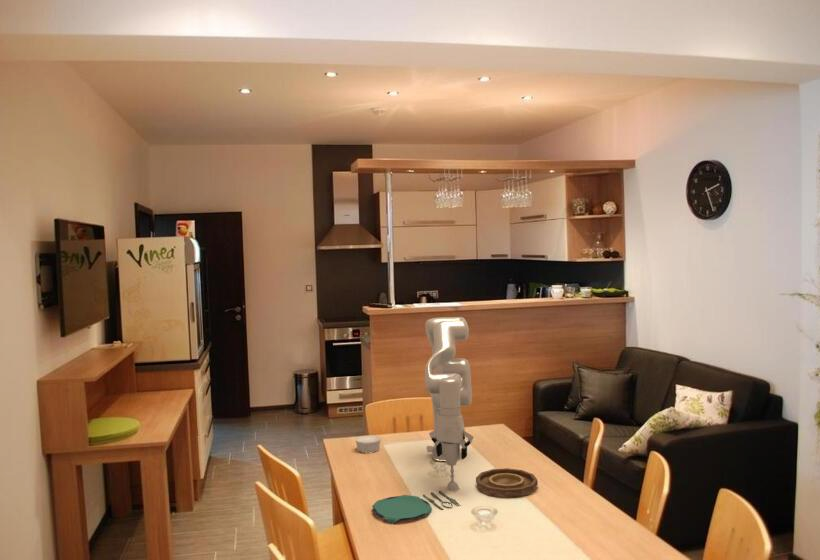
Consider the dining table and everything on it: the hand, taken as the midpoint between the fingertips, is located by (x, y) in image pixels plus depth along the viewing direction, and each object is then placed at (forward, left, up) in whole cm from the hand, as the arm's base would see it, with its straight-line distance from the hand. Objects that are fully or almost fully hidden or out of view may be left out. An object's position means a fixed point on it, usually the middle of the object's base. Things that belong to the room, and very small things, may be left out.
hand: (451, 456), depth 237 cm
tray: (+18, +9, -12) cm, 23 cm away
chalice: (0, 0, -12) cm, 12 cm away
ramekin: (-53, +30, -12) cm, 62 cm away
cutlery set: (-5, -21, -13) cm, 25 cm away
